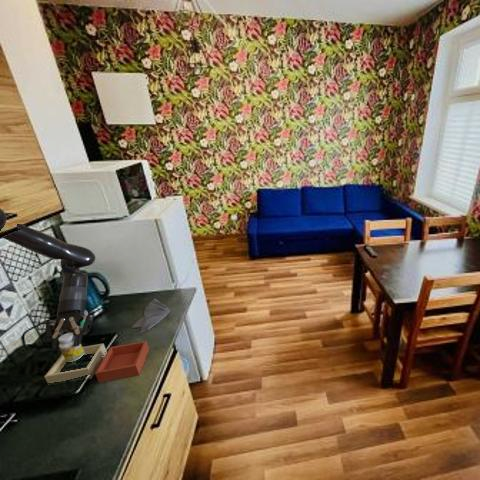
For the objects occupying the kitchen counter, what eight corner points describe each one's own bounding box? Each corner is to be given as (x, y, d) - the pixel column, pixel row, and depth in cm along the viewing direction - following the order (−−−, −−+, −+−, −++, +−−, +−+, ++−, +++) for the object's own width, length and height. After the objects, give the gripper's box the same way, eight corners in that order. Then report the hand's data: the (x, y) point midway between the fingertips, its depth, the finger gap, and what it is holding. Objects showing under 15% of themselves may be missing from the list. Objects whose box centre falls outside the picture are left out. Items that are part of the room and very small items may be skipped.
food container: (100, 326, 122) (93, 308, 118) (87, 335, 116) (80, 317, 112) (78, 322, 124) (70, 304, 120) (64, 331, 118) (56, 313, 114)
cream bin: (49, 386, 93) (44, 376, 91) (69, 359, 104) (65, 349, 102) (92, 378, 96) (87, 368, 94) (107, 352, 107) (103, 343, 106)
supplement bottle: (88, 350, 101) (79, 331, 97) (77, 362, 96) (67, 342, 92) (73, 351, 101) (64, 331, 97) (61, 362, 96) (51, 342, 92)
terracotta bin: (99, 383, 95) (94, 373, 93) (113, 356, 106) (110, 347, 104) (139, 375, 98) (136, 365, 96) (149, 349, 109) (146, 340, 107)
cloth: (160, 330, 119) (159, 326, 118) (126, 334, 117) (125, 330, 116) (177, 297, 143) (176, 293, 142) (149, 300, 140) (148, 296, 139)
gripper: (42, 301, 95) (33, 352, 89) (89, 295, 98) (84, 343, 93) (56, 304, 102) (49, 352, 96) (100, 299, 105) (96, 344, 99)
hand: (66, 347), depth 94 cm, fingers closed on supplement bottle, 5 cm apart
